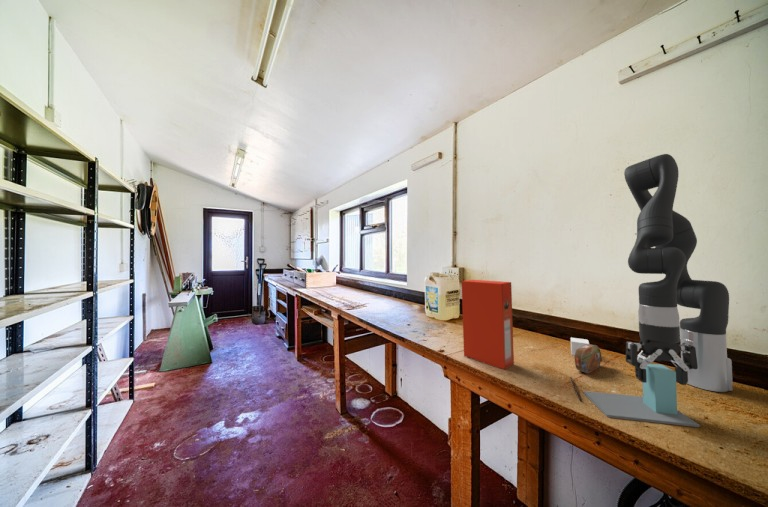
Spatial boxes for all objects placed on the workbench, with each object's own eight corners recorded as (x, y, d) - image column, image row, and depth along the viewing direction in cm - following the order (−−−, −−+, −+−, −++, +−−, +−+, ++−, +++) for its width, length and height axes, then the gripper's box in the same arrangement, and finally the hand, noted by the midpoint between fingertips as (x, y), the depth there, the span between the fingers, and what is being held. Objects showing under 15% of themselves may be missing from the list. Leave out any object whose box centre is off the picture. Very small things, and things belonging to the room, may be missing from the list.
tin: (583, 376, 89) (582, 351, 89) (573, 372, 92) (572, 349, 92) (602, 366, 97) (601, 343, 97) (592, 363, 99) (591, 341, 99)
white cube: (589, 358, 104) (589, 343, 104) (571, 355, 107) (571, 341, 107) (588, 353, 109) (587, 339, 109) (570, 351, 112) (570, 337, 112)
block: (663, 404, 70) (661, 364, 70) (677, 414, 66) (675, 371, 66) (643, 402, 71) (641, 363, 72) (656, 412, 67) (654, 370, 67)
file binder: (503, 370, 95) (501, 283, 95) (463, 356, 108) (461, 280, 109) (513, 364, 100) (511, 282, 100) (474, 351, 113) (472, 279, 114)
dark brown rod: (582, 403, 73) (581, 399, 73) (580, 402, 74) (579, 399, 74) (571, 380, 87) (571, 377, 87) (570, 379, 87) (569, 376, 87)
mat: (659, 400, 74) (659, 398, 74) (699, 427, 62) (699, 424, 62) (583, 393, 78) (583, 391, 78) (607, 417, 67) (606, 414, 67)
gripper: (678, 319, 71) (681, 377, 71) (617, 317, 74) (620, 374, 74) (705, 326, 63) (708, 392, 63) (636, 324, 67) (639, 387, 66)
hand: (661, 382), depth 68 cm, fingers open, 8 cm apart
